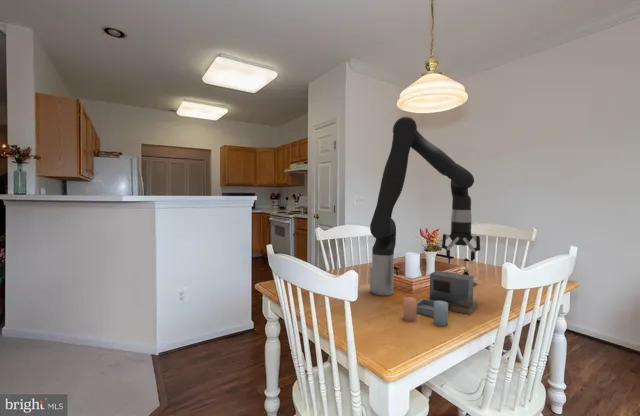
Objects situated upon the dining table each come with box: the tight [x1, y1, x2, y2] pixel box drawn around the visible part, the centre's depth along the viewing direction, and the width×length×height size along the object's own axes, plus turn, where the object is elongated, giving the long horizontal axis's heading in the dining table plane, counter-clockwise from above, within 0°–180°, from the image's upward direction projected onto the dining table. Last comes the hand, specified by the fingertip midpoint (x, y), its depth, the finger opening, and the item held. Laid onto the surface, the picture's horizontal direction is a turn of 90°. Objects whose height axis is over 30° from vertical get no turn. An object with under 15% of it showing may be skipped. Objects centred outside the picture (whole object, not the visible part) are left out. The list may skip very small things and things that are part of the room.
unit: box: [426, 270, 478, 316], centre depth 119 cm, size 16×10×12 cm, turn 50°
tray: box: [417, 298, 434, 318], centre depth 113 cm, size 10×10×2 cm
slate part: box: [433, 300, 449, 327], centre depth 103 cm, size 4×4×7 cm
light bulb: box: [462, 258, 478, 284], centre depth 149 cm, size 12×10×10 cm
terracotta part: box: [402, 296, 418, 322], centre depth 107 cm, size 4×4×7 cm
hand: (460, 259), depth 127 cm, fingers open, 8 cm apart
